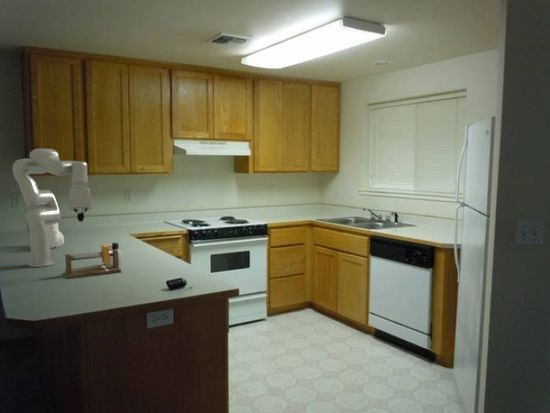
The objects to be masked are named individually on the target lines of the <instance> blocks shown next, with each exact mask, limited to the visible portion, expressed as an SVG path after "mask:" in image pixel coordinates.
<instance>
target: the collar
mask: <svg viewBox="0 0 550 413" xmlns="http://www.w3.org/2000/svg"><path fill="white" fill-rule="evenodd" d="M100 247H101V251H100V252H103V251H104V258H103V257H101V262H102V263H103V264H104V265H105V264H110V254H109V246H108V245H107V244H105V243H103V244H101V245H100Z"/></svg>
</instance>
